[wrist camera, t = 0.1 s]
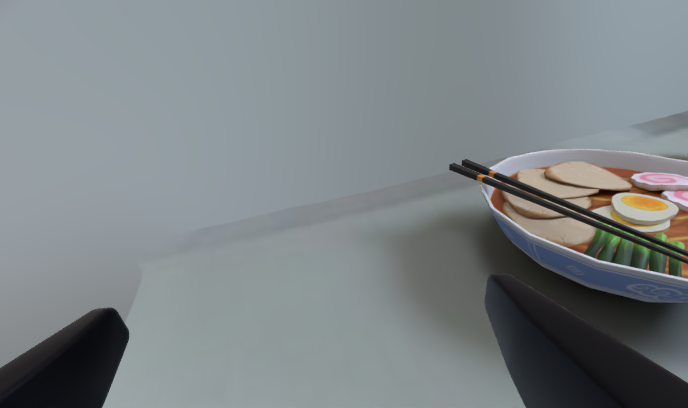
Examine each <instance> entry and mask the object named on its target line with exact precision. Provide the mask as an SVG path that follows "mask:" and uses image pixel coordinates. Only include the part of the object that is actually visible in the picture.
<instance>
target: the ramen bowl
mask: <svg viewBox="0 0 688 408" xmlns="http://www.w3.org/2000/svg"><path fill="white" fill-rule="evenodd" d="M462 166H464V167H462ZM462 166H460V165H457V164H455V163H453V164H450V167H449V168H450V169H449V170H452V171H454V172H457V173H459V174H462V175H464V176H467V177H469V178H472V179H474V180H477V181H480V182H481V184H480V188H481V190H482V193H483V195H484V197H485V200H486V202H487V204H488V206H489V208H490V210H491V212H492V213H493V215H494V217H495V219H496V221H497V223H498V224H499V226H500V227H501V229H502V230H503V232H504V234H505V235H506V236H507V237H508V238H509V239H510V240H511V241H512V242H513V244H514V245H516V246H517V247H518V248H519V249H521V250H522V251H523V252H524V253H526V254H527V255H528V256H529V257H531V258H532V259H533V260H534V261H536V262H537V263H538V264H539V265H541V266H542V267H544V268H546V269H548V270H551V271H553V272H555V273H557V274H560V275H562V276H564V277H566V278H568V279H571V280H573V281H575V282H577V283H580V284H582V285H584V286H586V287H588V288H592V289H596V290H600V291H604V292H608V293H612V294H617V295H621V296H625V297H629V298H633V299H637V300H641V301H645V302H665V303H688V161H683V160H677V159H671V158H666V157H660V156H654V155H648V154H642V153H636V152H624V151H610V150H596V149H567V150H545V151H538V152H533V153H528V154H523V155H518V156H513V157H509V158H507V159H505V160H504V161H502V162H500V163H498V164H496V165H494V166H492V167H490V168H486V167H484V166H482V165H479V164H477V163H474V162H472V161H470V160H467V159H465V160H463V161H462ZM465 167H466V168H465ZM467 168H469V169H467ZM470 169H471V170H470ZM472 170H474V171H472ZM475 171H476V172H475ZM477 172H479V173H481V174H479V173H477ZM482 174H484V175H485V176H483V175H482Z"/></svg>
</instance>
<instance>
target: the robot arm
mask: <svg viewBox="0 0 688 408" xmlns="http://www.w3.org/2000/svg"><path fill="white" fill-rule="evenodd" d="M485 307H486V311H487V313H488V316H489V319H490V322H491V324H492V327H493V330H494V333H495V335H496V338H497V341H498V344H499V346H500V349H501V352H502V354H503V357H504V360H505V363H506V365H507V368H508V370H509V373H510V375H511V377H512V379H513V382H514V384H515V386H516V388H517V390H518V392H519V394H520V396H521V398H522V400H523V402H524V404H525V406H526V408H688V383H687V382H685V381H684V380H682V379H680V378H679V377H677V376H676V375H674V374H672V373H671V372H669V371H667V370H666V369H664V368H663V367H661V366H659V365H658V364H656V363H654V362H653V361H651V360H649V359H648V358H646V357H645V356H643V355H641V354H640V353H638V352H636V351H635V350H633V349H632V348H630V347H628V346H627V345H625V344H623V343H622V342H620V341H619V340H617V339H615V338H614V337H612V336H610V335H609V334H607V333H606V332H604V331H602V330H601V329H599V328H597V327H596V326H594V325H593V324H591V323H589V322H588V321H586V320H584V319H583V318H581V317H580V316H578V315H576V314H575V313H573V312H571V311H570V310H568V309H567V308H565V307H563V306H562V305H560V304H558V303H557V302H555V301H554V300H552V299H550V298H549V297H547V296H545V295H544V294H542V293H541V292H539V291H537V290H536V289H534V288H532V287H531V286H529V285H527V284H526V283H524V282H523V281H521V280H519V279H518V278H516V277H514V276H513V275H511V274H509V273H496V274H491V275H490V276H489V277H488V282H487V288H486V294H485ZM128 340H129V330H128V328H127V327H126V325H125V323H124V322H123V320H122V318H121V317H120V315H119V313H118V312H117V311H116V310H115V309H114V308H102V309H101V308H100V309H95V310H92V311H90V312H89V313H87V314H86V315H84V316H82V317H81V318H79V319H78V320H76V321H74V322H73V323H71V324H70V325H68V326H66V327H65V328H63V329H62V330H60V331H59V332H57V333H55V334H54V335H52V336H51V337H49V338H47V339H46V340H44V341H43V342H41V343H39V344H38V345H36V346H35V347H33V348H31V349H30V350H28V351H27V352H25V353H24V354H22V355H20V356H19V357H17V358H16V359H14V360H12V361H11V362H9V363H8V364H6V365H4V366H3V367H1V368H0V408H102V407H103V404H104V402H105V400H106V397H107V395H108V392H109V390H110V387H111V384H112V382H113V379H114V377H115V374H116V371H117V369H118V366H119V364H120V361H121V359H122V356H123V353H124V351H125V348H126V346H127V343H128Z"/></svg>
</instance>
